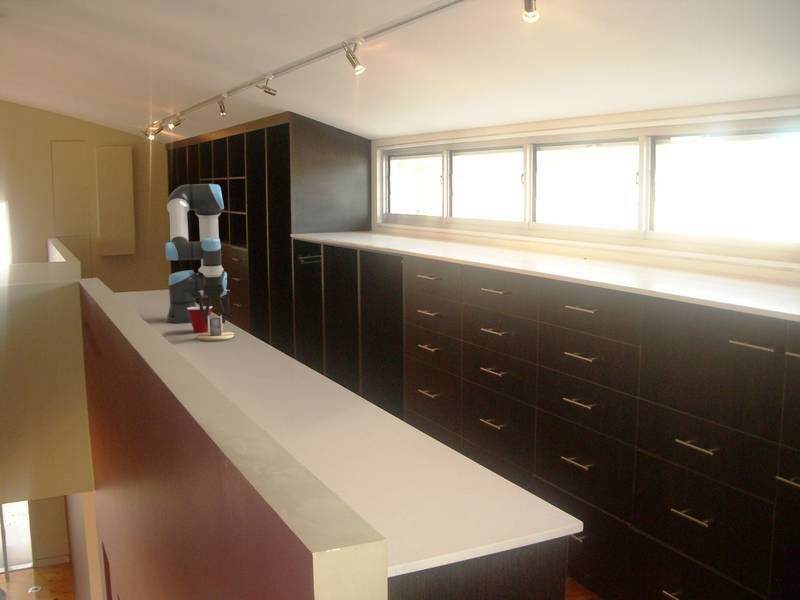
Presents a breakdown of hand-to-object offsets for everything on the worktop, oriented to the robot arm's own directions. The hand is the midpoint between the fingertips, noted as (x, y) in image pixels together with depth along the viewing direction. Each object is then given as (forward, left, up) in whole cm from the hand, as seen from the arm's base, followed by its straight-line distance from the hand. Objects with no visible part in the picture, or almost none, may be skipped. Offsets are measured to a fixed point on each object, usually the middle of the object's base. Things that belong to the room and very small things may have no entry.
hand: (215, 331), depth 332 cm
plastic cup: (-16, -7, -4) cm, 18 cm away
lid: (0, 0, -3) cm, 3 cm away
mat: (0, 0, -4) cm, 4 cm away
